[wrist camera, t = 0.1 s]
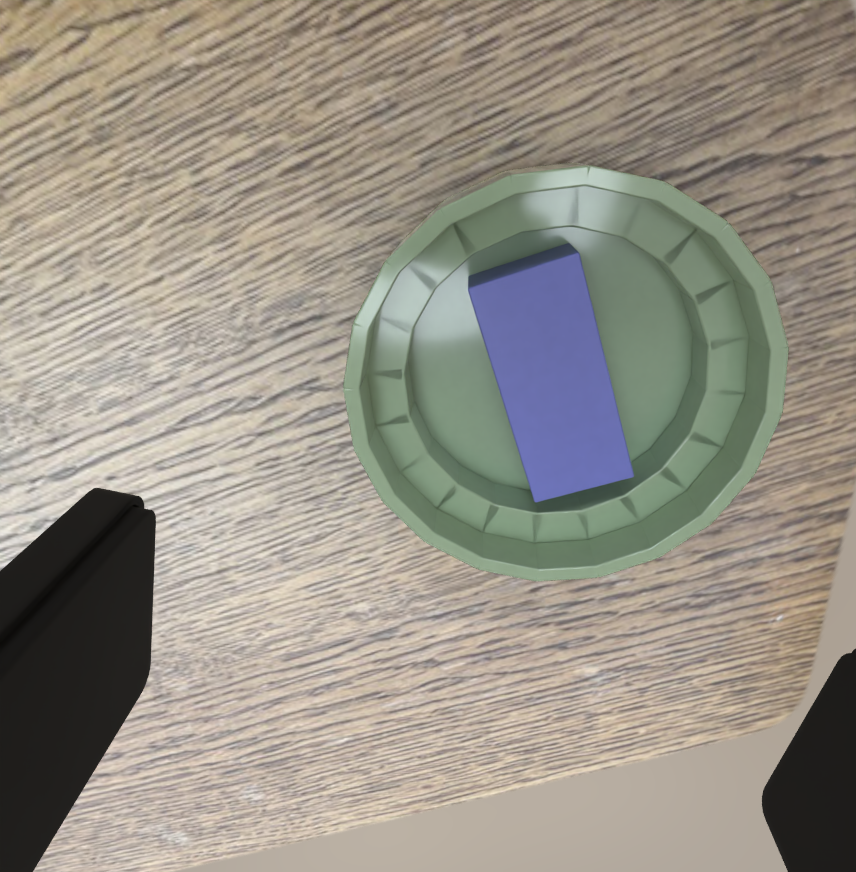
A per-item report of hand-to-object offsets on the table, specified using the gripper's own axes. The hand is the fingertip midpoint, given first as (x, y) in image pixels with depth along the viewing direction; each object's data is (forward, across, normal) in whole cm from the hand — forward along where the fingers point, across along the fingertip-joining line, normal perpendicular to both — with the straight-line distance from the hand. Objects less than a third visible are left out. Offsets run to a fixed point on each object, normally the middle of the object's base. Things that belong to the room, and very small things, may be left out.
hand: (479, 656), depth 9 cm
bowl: (+20, -3, +1) cm, 20 cm away
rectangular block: (+19, -3, +1) cm, 19 cm away
